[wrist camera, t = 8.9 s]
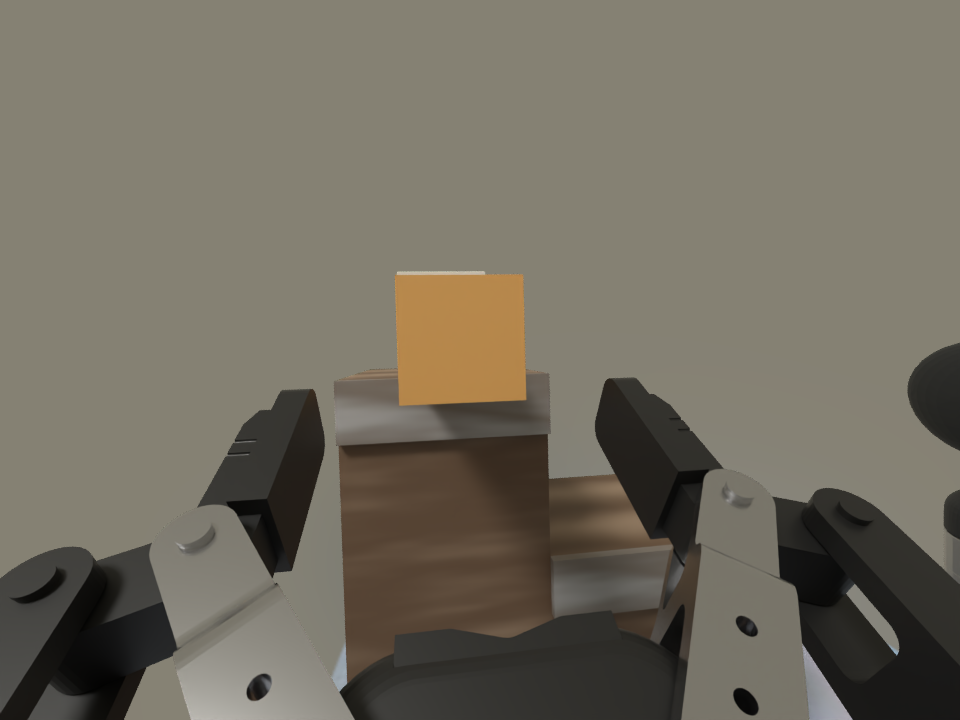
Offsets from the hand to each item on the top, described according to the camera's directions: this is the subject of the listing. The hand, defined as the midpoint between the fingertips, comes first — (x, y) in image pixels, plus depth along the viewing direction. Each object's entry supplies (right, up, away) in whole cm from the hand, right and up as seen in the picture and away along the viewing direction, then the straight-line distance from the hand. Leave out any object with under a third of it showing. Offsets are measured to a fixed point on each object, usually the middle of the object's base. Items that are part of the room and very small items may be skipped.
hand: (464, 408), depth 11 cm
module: (-2, 0, +12) cm, 12 cm away
